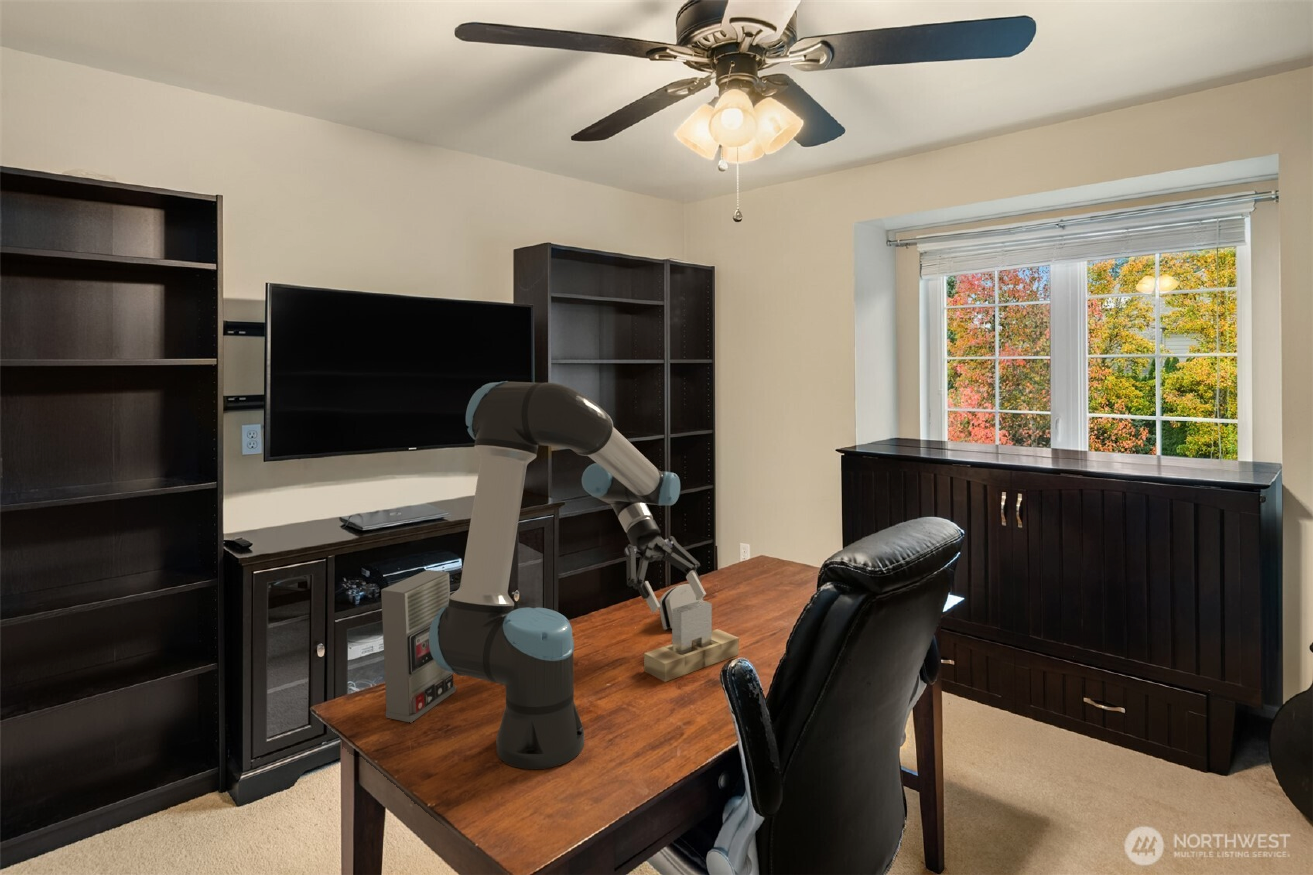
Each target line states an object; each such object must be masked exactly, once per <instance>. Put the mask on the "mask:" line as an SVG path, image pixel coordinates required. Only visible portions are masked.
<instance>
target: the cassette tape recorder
mask: <svg viewBox="0 0 1313 875" xmlns="http://www.w3.org/2000/svg"><path fill="white" fill-rule="evenodd" d="M450 582H451V581H450V572H449V571H440V570H433V569H432V570H431V569H427V570H424V571H422V572H419V573H417V574H414V575H413V576H411V577H408V578H406V579H403V580H401V581H398V582H396V583H393V584H391V585H389V586H387V587H384V588H382V589H380V593H381V614H382V616H381V620H382V638H383V658H384V659H383V663H384V683H385V688H384V689H385V705H386V708H385V710H386V711H385V718H387V719H391V720H396V721H401V722H405V723H409V722H410V723H414V722H415V721H417V719H418V718H420V717H422V716H423V715H425V713H427V712H428V711H430V710H431V709H433V708H434V707H436V706H437V705H438V704H440V703H441V702H442V701H444V700H445V699H447V698H448V697H449V696H451V695H453V694H454V693H455V692H457V685H456V684H454V673H453V672H450V671H447V670H444V669H442V668H441V667H440V666H438V665H437V663H436V661H435V660H434V659H433V657H432V655H431V652H430V648H429V631H430V627H431V624H432V621H433V619H434V618H435V617H437V613H438V611H439V610H440V609H442V608H443V607H445V606H447V605H448V604H449V597H450V595H451V589H450V588H451V585H450V584H451V583H450ZM413 721H414V722H413ZM410 723H409V724H410Z"/></svg>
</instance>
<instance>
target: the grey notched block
mask: <svg viewBox="0 0 1313 875" xmlns="http://www.w3.org/2000/svg"><path fill="white" fill-rule="evenodd" d="M712 612H713V604H712V602H709V601H706V600H704V599H703V600H701V601H697V602H694V603H690V604H687V605H684V606H680V607H677V608H673V609H672V628H671V629H672V630H671V632H672V634H671V636H672V638H671V640H672V641H671V643H672V651H674V652H676V653H678V654H680V655H684V654H687V653H690V652H692V640H693V644H694V645H696V646H698V647H701V648H704V647H707V646H710V645H711V644H712V631H713V629H712V627H713V626H712V622H713V621H712V619H713V618H712V617H713V616H712V615H713V613H712Z"/></svg>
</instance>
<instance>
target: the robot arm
mask: <svg viewBox="0 0 1313 875" xmlns="http://www.w3.org/2000/svg"><path fill="white" fill-rule="evenodd" d="M465 424H466V426H467V427H468V428H467V432H468V434H469V436H470V437H471V438H472V439H473V440H474V450H475V452H476V453H477V454H478V456H479V458H480V461H479V467H478V468H479V469H478V473H477V480H476V487H475V492H474V500H473V505H472V511H471V517H470V522H469V530H468V535H467V542H466V547H465V553H464V560H463V567H462V570H461V571H462V572H461V576H460V577H461V578H460V584H459V588H458V589H457V590H456V591H454V592H453V593H452V594H450V597H449V604H448V605H447V606H445V607H443V608H442V609H440V610H439V611H438V613H437V617H435V618H434V619H433V621H432V624H431V627H430V631H429V648H430V652H431V655H432V657H433V659H434V660H435V661H436V663H437V665H438V666H440V667H441V668H442V669H444V670H447V671H450V672H453V674H455V675H457V676H460V677H461V676H462V677H468V678H469V677H470V678H474V679H478V680H482V681H487V682H491V683H497V684H500V685H503V686H505V708H504V712H503V715H502V718H501V721H500V726H499V728H498V731H497V735H496V740H495V741H496V753H497V756H498V758H499V759H500V760H501V761H502V762H503V763H505V764H507V765H509V766H511V767H514V768H517V769H522V770H523V769H524V770H544V769H550V768H551V769H552V768H555V767H558V766H562V765H564V764H566V763H568V762H570V761H572V760H573V759H575V758H577V756H579V755H580V754H581V752H582V751H583V749H584V747H585V729H584V726H583V723H582V719H581V717H580V715H579V712H578V709H577V707H576V704H575V701H574V699H575V698H574V696H575V695H574V650H575V642H574V638H573V636H574V635H573V628H572V625H571V623H570V621H569V619H568V618H567V617H566V616H565V615H563V614H561V613H560V612H558V611H555V610H554V609H548V608H545V607H535V608H532V607H530V606H529V607H521V608H517V609H514V606H515V602H514V600H513V599H512V598H511V596H510V595H509V592H508V591H509V585H510V577H511V573H512V572H511V571H512V564H513V558H514V552H515V551H514V550H515V545H516V538H517V532H518V527H519V520H520V513H521V508H522V507H521V506H522V499H523V493H524V485H525V481H526V480H525V479H526V474H527V473H526V472H527V466H528V465H529V463H530V462H532V461H533V460H535V459H536V458H537V455H538V450H539V446H546V447H547V446H548V447H549V446H550V447H560V448H565V449H570V450H571V451H573V452H574V453H576V454H577V455H579V456H585V457H589V458H590V459H591V460H592V461H594V462H595V463H592V464H590V465H589V466H587V467H586V468H585V470H584V471H583V473H582V476H581V485H582V488H583V490H584V491H586V493H588V494H589V495H591V497H593V498H596V499H599V500H601V501H602V502H605V503H607V504H608V505H611V507H612V509H613V511H614V512H615V515H616V516H617V518H618V521H619V522H620V524H621V526H622V528H623V530H624V532H625V533H626V536H627V538H628V541H629V542H630V543H629V544H628V545H627V546H626V547H625V548H624V550H623V554H624V556H625V559H626V561H625V562H626V585H627V586H628V587H629V588H630V587H633V589H634V590H638V592H639V594H640V597H641V598H642V599H643V600H645V601H646V604H647V605H648V607H649V609H650V611H651V613H652V614H655V613H657V611H658V610H659V607H660V604H659V602H658V601H659V600H658V598H657V597H656V595H655V592H654V591H653V589H652V586H651V585H650V583H649V581H648V580H645V578H646V573H647V569H648V565H649V563H652V562H654V561H656V562H657V561H661V560H662V562H667V563H669V564H670V565H672V566H674V567H675V568H677V569H678V570H680V571H682V572H683V573H685V574H686V576H685V578H686V580H687V582H688V584H690V586H691V588H692V590H693V591H694V593H695V595H696V597H697V599H698V600H701V599H703V598H704V597H705V596H706V595H707V592H706V591H705V589H704V587H703V585H702V580H701V578H700V577H699V575H698V572H697V569H698V568H699V567H701V564H700V562H699V561H698V560H697V559H696V558H695V557H693V556H692V555H691V554H690V552H688V551H687V550H686V549H685V548H684V547H682V546H681V545H680V544H679V543H678V542H677V539H676V538H675V537H674V536H672V535H671V536H669V537H668V538H666V539H664V538H662V536H661V529H660V527H659V526H658V525H657V523H656V520H655V519H654V517H653V514H652V513H651V511H650V509H649V507H648V505H655V506H656V505H657V506H659V507H661V506H673V505H674V504H676V502H677V501H678V499H679V497H680V493H681V481H680V477H679V476H678V474H676V473H674V472H671V471H661V470H660V469H658V468H657V467H656V466H655V465H654V464H653V463H652V462H651V461H650V460H649V459H648V458H647V457H645V456H644V454H642V452H640V451H639V450H638V449H637V448H636V447H635V446H634V445H633V444H632V443H631V442H630V441H629V440H627V438H626V437H625V436H624V435H622V433H620V432H619V431H618V430H617V429H616V428H615V427H614V422H613V420H612V418H611V416H610V415H609V414H608V413H607V412H606V411H605V410H604V409H603V408H602V407H601V406H599V405H598V404H597V403H595V402H594V401H593V400H592V399H590V398H589V397H587V396H586V395H584V394H582V393H581V392H579V391H577V390H575V389H574V388H571V387H569V386H566V385H563V384H559V383H555V382H526V381H508V380H506V381H500V382H489V383H486V384H484V385H482V386H481V387H480V388H478V389H477V390H476V391H475V392H474V393H473V394H472V396H471V398H470V400H469V402H468V404H467V408H466V412H465ZM647 504H648V505H647ZM636 554H637V555H638V556H640V559H639V561H638V563H639V565H638V570H637V564H636V563H637V562H636V560H637V559H636V558H637V557H636V556H637V555H636Z"/></svg>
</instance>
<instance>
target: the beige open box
mask: <svg viewBox="0 0 1313 875" xmlns="http://www.w3.org/2000/svg"><path fill="white" fill-rule="evenodd" d="M739 653H740V637H738V636H736V635H733V634H731V633H728V632H726V631H724V630H721V629H719V628H716V629H712V644H711V645H710V646H707V647H704V648H701V647H698V646H696V645H694V644H693V640H692V652H690V653H687V654H684V655H680V654H678V653H676V652H674V651H672V644H668V645H665V646H662V647H659V648H656V649H653V650H649V651H646V652H644V653H643V659H644V660H643V661H644V662H643V664H644V665H643V670H644V671H643V672H645V673H647V674H649V675H651V676H653V677H655V678H656V679H659V680H661V681H662V682H664V683H666V682H668V681H672V680H674V679H677V678H679V677H682V676H685V675H688V674H691V673H693V672H695V671H698V670H701V669H704V668H706V667H709V666H712V665H715V664H717V663H720V662H723V661H726V660H728V659H731V658H733V657H736V656H739Z"/></svg>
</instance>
